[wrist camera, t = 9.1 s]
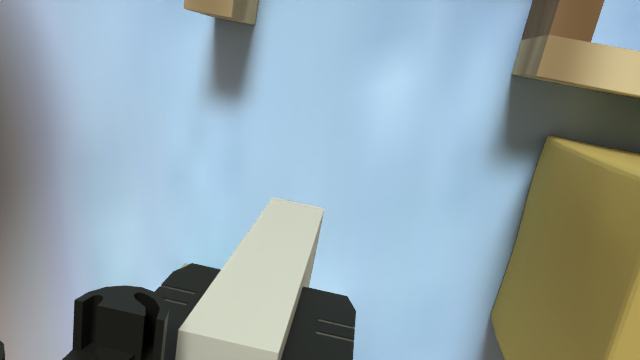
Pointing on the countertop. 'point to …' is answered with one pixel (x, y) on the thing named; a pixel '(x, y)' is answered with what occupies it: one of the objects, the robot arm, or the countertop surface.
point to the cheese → (575, 259)
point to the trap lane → (526, 44)
